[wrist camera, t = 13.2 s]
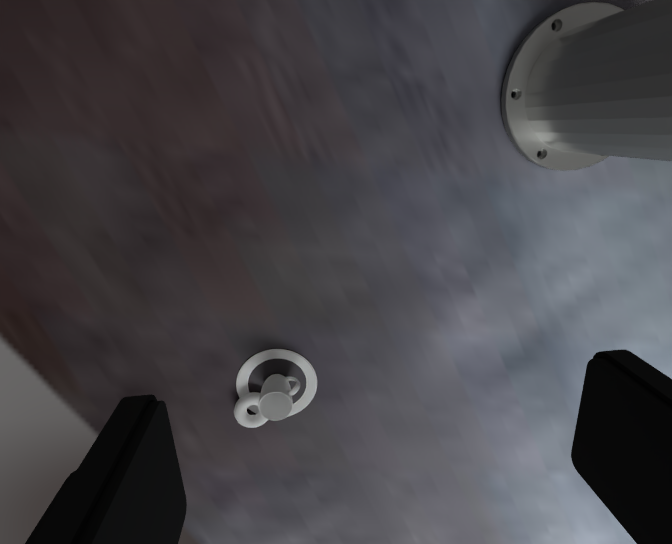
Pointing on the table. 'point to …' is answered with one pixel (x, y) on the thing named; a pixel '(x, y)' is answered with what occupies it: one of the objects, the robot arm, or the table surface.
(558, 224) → the table surface
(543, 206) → the table surface
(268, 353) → the teacup and saucer
